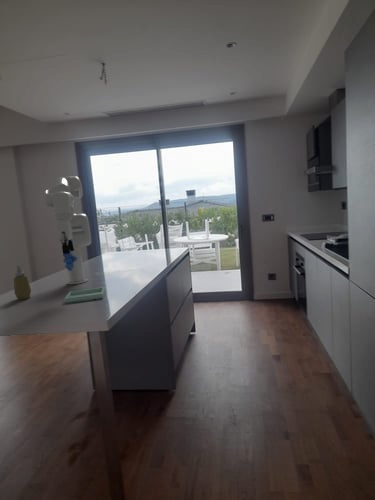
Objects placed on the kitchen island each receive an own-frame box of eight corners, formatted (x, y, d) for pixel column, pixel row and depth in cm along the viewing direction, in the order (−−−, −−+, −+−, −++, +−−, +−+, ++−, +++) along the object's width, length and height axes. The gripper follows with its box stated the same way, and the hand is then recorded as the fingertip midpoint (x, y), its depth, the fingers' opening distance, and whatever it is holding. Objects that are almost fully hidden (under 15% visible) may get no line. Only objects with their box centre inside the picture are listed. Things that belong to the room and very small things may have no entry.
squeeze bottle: (25, 300, 176) (19, 267, 173) (12, 300, 177) (6, 267, 175) (35, 296, 183) (30, 264, 181) (22, 296, 185) (17, 264, 183)
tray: (70, 296, 175) (69, 291, 175) (105, 291, 178) (104, 287, 178) (65, 303, 162) (64, 298, 161) (102, 298, 164) (102, 293, 164)
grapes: (77, 272, 164) (73, 249, 161) (63, 274, 163) (59, 250, 160) (80, 266, 175) (76, 244, 172) (67, 268, 174) (63, 246, 171)
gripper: (60, 217, 172) (65, 250, 174) (50, 219, 155) (56, 255, 157) (75, 216, 173) (79, 249, 175) (67, 217, 155) (72, 253, 158)
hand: (68, 252), depth 166 cm, fingers closed on grapes, 8 cm apart
